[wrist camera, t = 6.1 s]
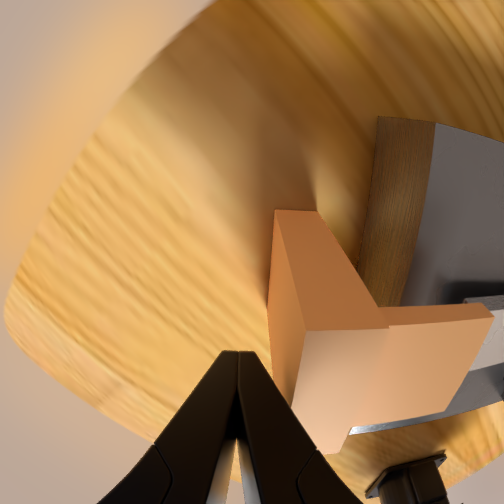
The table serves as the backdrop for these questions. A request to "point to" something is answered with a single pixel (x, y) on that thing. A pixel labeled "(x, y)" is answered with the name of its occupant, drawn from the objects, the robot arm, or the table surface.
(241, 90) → the table surface
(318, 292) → the tan piece
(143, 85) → the table surface
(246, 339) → the table surface
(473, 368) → the strap
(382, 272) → the slotted grey stand
